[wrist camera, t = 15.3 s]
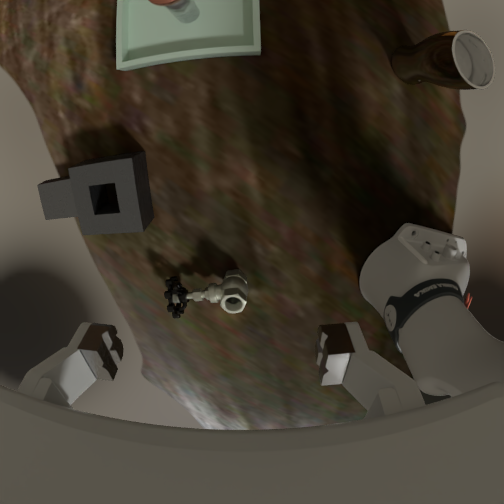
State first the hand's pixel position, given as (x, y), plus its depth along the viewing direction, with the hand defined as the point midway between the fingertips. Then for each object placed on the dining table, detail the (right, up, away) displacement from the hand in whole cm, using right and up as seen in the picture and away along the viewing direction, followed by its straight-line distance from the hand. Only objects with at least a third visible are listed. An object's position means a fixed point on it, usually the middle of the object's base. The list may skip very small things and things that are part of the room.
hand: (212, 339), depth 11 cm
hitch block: (-22, +13, +29) cm, 38 cm away
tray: (-7, +34, +17) cm, 38 cm away
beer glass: (+24, +30, +20) cm, 43 cm away
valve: (-5, -1, +37) cm, 37 cm away
